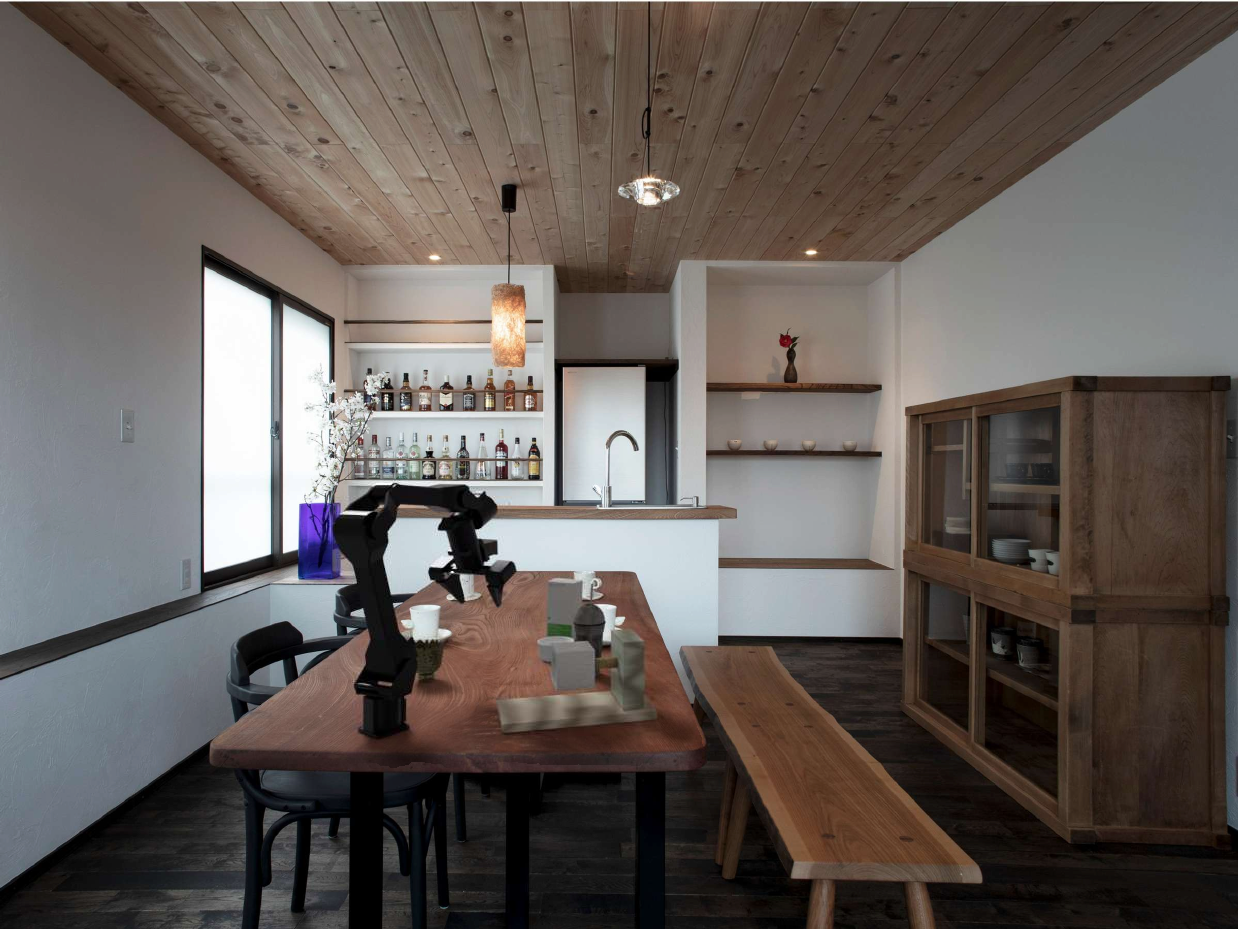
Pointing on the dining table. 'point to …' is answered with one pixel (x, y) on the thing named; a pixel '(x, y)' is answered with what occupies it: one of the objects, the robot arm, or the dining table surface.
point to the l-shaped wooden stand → (589, 695)
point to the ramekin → (549, 646)
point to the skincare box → (563, 606)
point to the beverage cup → (590, 626)
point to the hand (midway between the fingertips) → (480, 604)
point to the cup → (428, 658)
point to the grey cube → (573, 665)
